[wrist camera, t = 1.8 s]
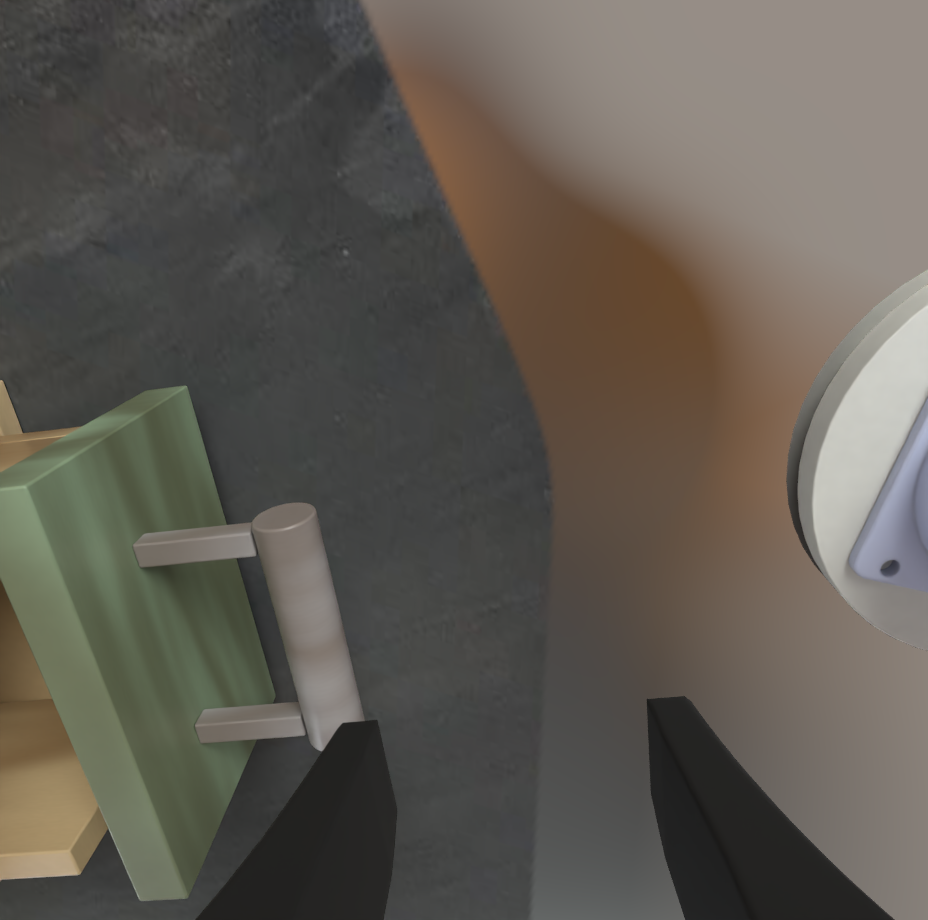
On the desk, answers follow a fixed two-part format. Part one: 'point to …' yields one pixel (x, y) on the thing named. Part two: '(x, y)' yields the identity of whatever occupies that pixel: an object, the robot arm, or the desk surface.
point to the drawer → (145, 645)
